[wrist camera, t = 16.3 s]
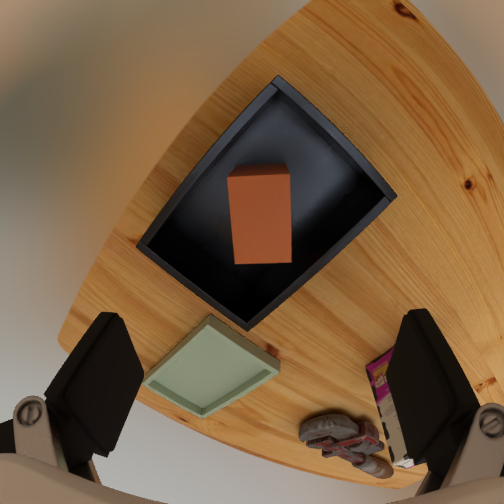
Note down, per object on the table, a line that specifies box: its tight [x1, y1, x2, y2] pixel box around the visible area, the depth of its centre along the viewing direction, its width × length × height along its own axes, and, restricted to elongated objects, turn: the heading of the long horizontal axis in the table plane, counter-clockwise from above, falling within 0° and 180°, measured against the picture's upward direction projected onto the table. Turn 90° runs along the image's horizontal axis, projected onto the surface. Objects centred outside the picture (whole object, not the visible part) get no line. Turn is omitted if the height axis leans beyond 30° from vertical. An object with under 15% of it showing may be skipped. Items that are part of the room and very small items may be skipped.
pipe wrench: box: [299, 414, 394, 479], centre depth 45 cm, size 40×12×5 cm, turn 43°
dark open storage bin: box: [136, 75, 397, 332], centre depth 25 cm, size 18×13×7 cm
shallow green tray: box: [142, 314, 280, 419], centre depth 38 cm, size 18×12×2 cm, turn 139°
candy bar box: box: [365, 347, 414, 469], centre depth 28 cm, size 11×5×16 cm, turn 137°
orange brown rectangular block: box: [227, 163, 292, 264], centre depth 25 cm, size 7×4×6 cm, turn 4°
